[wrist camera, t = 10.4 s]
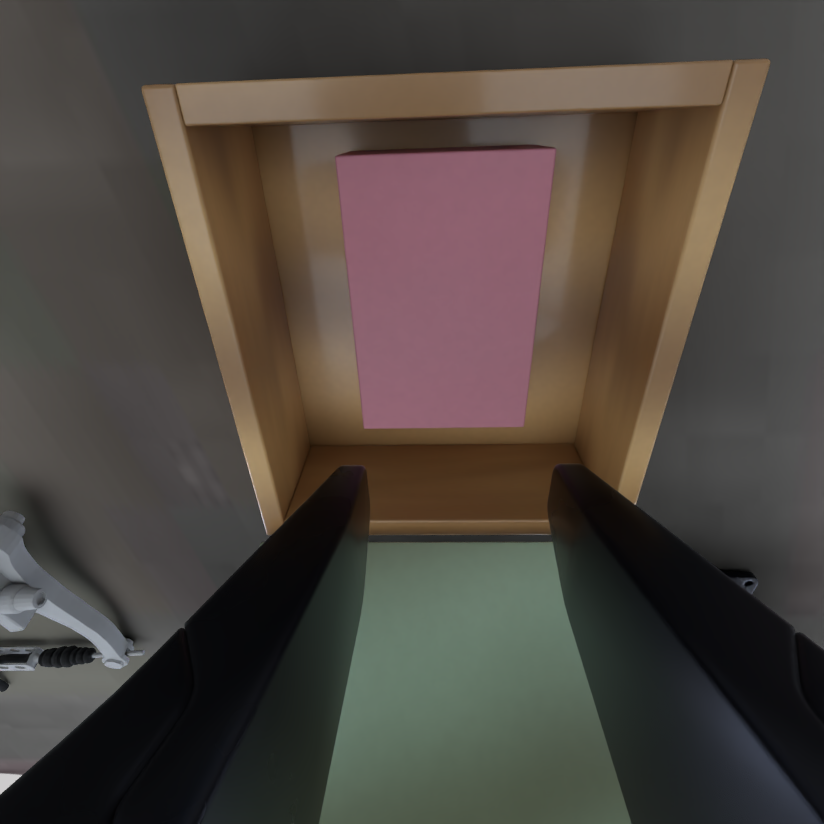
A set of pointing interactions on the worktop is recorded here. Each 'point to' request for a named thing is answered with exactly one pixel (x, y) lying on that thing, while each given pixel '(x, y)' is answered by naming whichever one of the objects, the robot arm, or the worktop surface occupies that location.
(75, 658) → the bike brake
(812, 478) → the worktop surface
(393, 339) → the pink rectangular block
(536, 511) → the box
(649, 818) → the robot arm
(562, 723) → the lid
